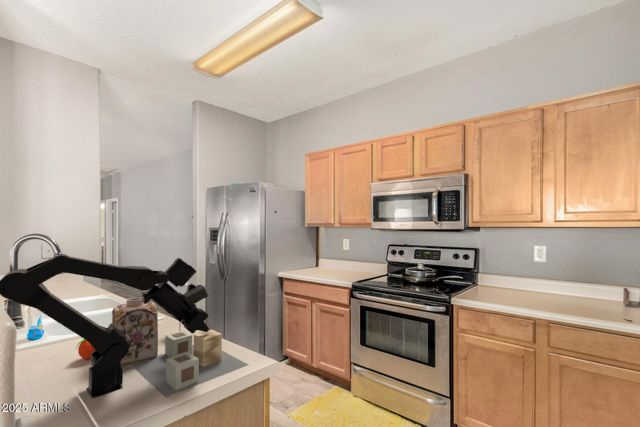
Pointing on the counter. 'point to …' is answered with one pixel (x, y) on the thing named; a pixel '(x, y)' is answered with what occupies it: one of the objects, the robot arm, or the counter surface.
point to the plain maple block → (208, 347)
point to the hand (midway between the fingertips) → (207, 330)
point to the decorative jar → (138, 328)
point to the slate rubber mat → (156, 372)
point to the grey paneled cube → (182, 370)
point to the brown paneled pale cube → (178, 344)
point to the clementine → (85, 349)
